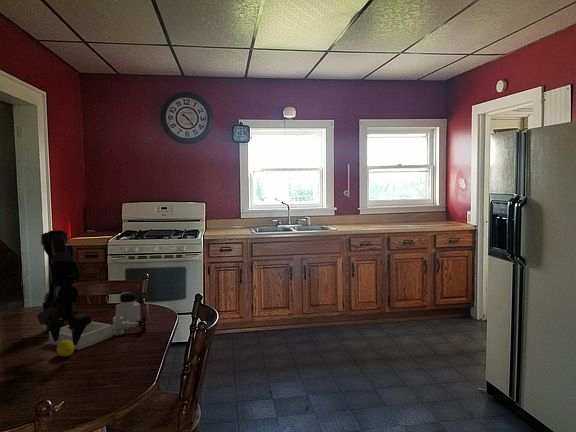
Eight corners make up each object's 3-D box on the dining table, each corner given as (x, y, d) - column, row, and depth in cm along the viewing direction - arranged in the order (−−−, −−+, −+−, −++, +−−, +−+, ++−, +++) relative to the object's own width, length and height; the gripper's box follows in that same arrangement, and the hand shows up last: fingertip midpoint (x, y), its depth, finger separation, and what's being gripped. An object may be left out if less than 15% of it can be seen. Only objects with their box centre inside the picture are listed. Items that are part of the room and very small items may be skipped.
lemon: (55, 356, 146) (54, 340, 147) (73, 352, 149) (72, 337, 150) (58, 360, 141) (57, 343, 141) (77, 356, 144) (76, 339, 144)
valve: (112, 337, 164) (145, 333, 168) (111, 320, 164) (145, 317, 167) (113, 331, 170) (145, 328, 174) (112, 315, 170) (145, 312, 174)
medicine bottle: (140, 320, 185) (140, 292, 184) (126, 324, 179) (125, 295, 178) (130, 317, 189) (129, 290, 188) (115, 321, 183) (115, 293, 182)
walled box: (49, 343, 157) (48, 331, 157) (84, 331, 170) (83, 320, 170) (78, 350, 151) (78, 337, 150) (112, 336, 164) (112, 325, 164)
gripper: (21, 299, 141) (23, 346, 142) (62, 305, 133) (63, 355, 134) (53, 292, 151) (54, 336, 152) (92, 297, 143) (93, 344, 144)
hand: (65, 343), depth 145 cm, fingers open, 9 cm apart
